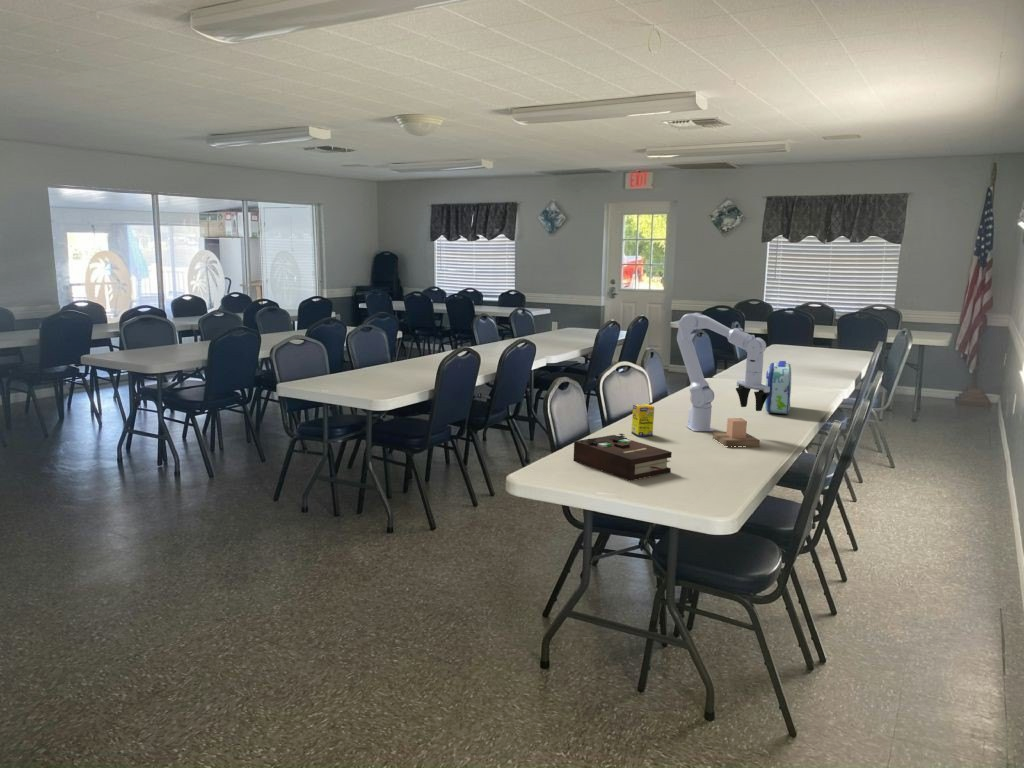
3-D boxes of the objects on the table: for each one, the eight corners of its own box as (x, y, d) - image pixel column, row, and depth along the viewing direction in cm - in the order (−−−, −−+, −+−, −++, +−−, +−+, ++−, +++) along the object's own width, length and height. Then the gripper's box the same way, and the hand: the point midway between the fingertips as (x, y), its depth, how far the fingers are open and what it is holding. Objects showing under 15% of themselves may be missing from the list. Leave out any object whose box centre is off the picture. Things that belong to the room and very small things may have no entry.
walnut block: (712, 440, 271) (713, 432, 271) (744, 440, 273) (745, 432, 272) (725, 448, 259) (726, 440, 259) (759, 448, 261) (759, 440, 260)
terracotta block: (726, 434, 268) (727, 418, 267) (740, 434, 268) (741, 418, 267) (731, 438, 263) (732, 421, 262) (745, 438, 263) (746, 421, 262)
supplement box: (638, 437, 271) (639, 407, 270) (631, 433, 277) (632, 404, 275) (653, 436, 273) (654, 406, 271) (645, 432, 279) (647, 403, 277)
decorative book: (634, 459, 214) (566, 437, 238) (632, 485, 215) (565, 460, 239) (680, 450, 225) (611, 430, 249) (679, 475, 227) (610, 452, 250)
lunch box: (764, 404, 340) (768, 357, 336) (789, 406, 336) (793, 359, 333) (762, 414, 316) (766, 365, 312) (789, 417, 312) (793, 367, 309)
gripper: (731, 369, 276) (728, 405, 279) (760, 375, 264) (757, 413, 266) (746, 368, 280) (743, 404, 282) (775, 374, 267) (772, 412, 269)
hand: (751, 408), depth 274 cm, fingers open, 7 cm apart
